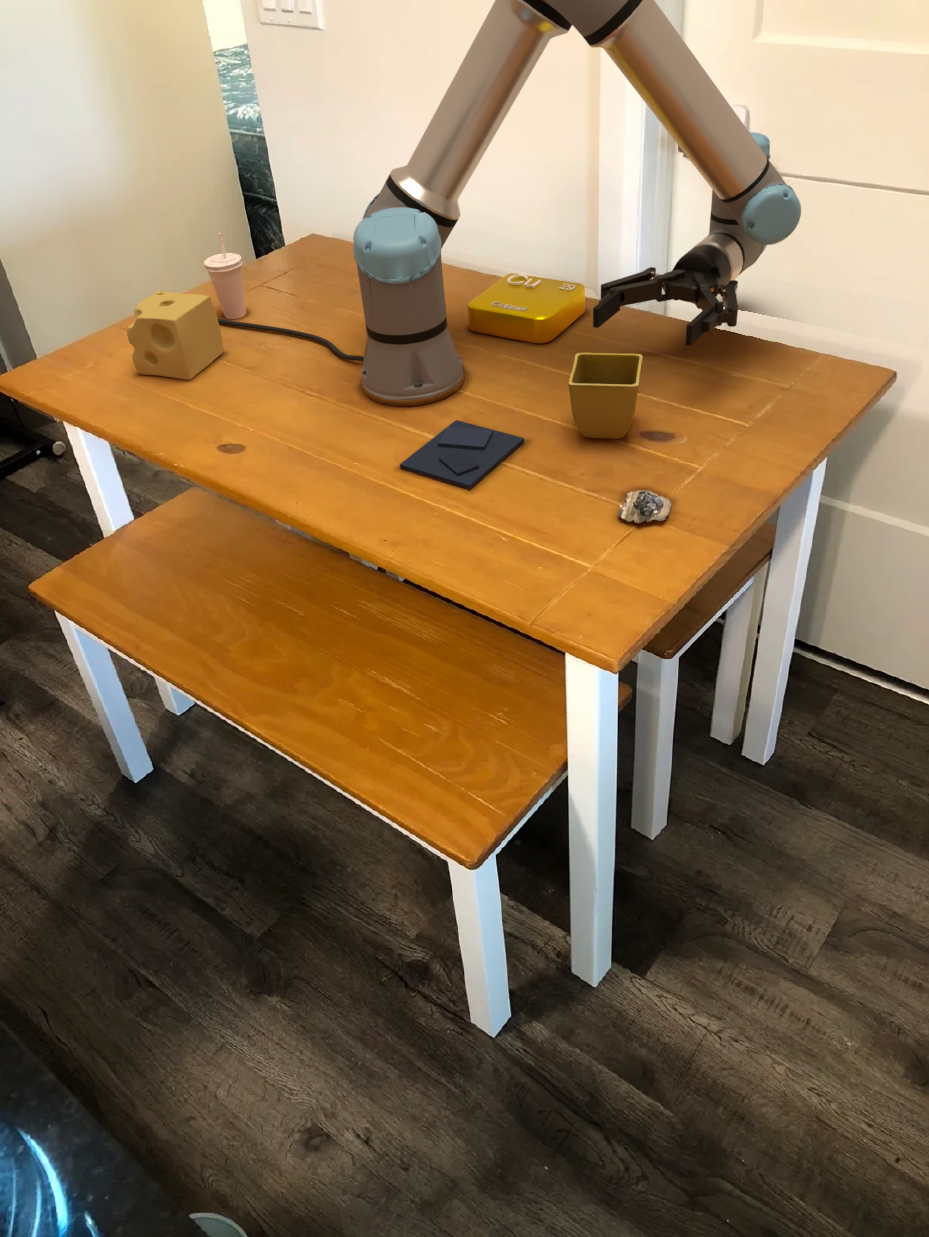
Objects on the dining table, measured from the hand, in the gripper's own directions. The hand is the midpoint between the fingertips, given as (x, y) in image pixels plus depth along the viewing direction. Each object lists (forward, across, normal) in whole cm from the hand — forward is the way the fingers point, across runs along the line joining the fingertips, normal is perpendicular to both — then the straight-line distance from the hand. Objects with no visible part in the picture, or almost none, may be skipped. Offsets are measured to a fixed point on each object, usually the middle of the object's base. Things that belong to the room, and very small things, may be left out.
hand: (640, 326), depth 131 cm
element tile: (-16, +28, -11) cm, 34 cm away
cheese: (+21, +70, -11) cm, 74 cm away
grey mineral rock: (+24, -13, -11) cm, 29 cm away
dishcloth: (+24, +14, -11) cm, 29 cm away
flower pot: (+10, 0, -11) cm, 14 cm away
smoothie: (+3, +76, -11) cm, 77 cm away
